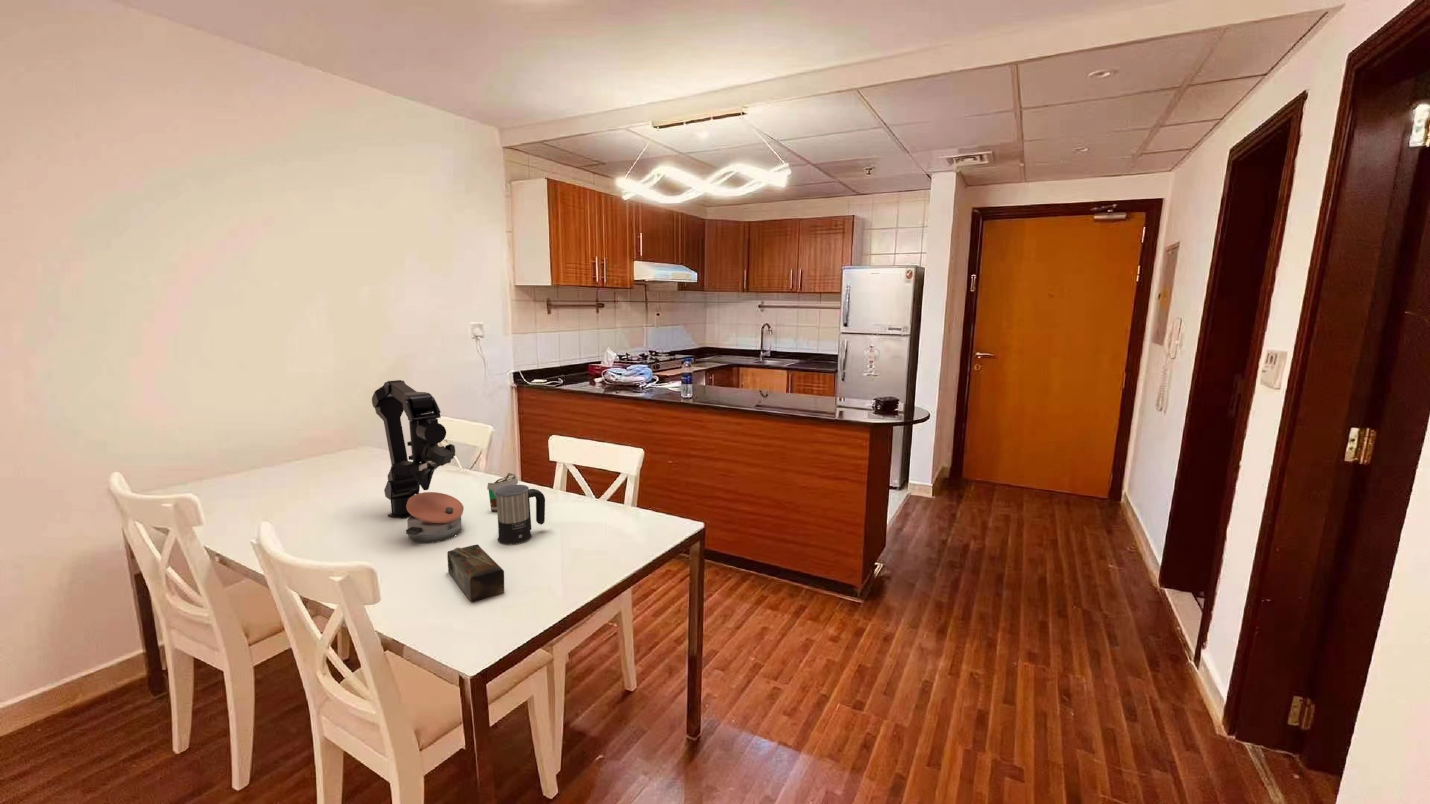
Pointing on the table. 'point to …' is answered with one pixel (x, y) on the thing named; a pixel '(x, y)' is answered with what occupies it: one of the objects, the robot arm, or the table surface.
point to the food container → (505, 481)
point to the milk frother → (517, 512)
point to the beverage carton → (475, 572)
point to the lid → (434, 507)
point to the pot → (432, 530)
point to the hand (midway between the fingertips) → (426, 489)
